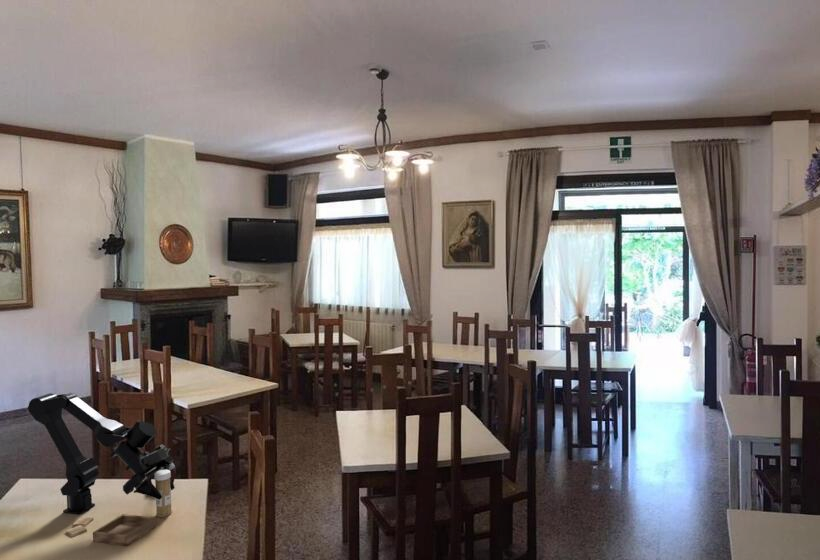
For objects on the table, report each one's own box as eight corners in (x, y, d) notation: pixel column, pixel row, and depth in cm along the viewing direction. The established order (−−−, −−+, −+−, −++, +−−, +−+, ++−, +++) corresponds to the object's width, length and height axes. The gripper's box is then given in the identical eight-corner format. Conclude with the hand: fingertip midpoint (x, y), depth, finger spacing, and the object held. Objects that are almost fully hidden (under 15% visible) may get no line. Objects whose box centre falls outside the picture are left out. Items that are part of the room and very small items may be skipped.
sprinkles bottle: (173, 514, 174) (171, 472, 173) (157, 518, 172) (155, 475, 171) (170, 509, 178) (168, 467, 177) (154, 513, 175) (153, 471, 175)
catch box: (93, 541, 159) (92, 532, 158) (123, 521, 170) (122, 513, 170) (127, 545, 156) (127, 537, 156) (156, 525, 167) (155, 517, 167)
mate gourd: (161, 481, 199) (159, 440, 199) (182, 482, 199) (180, 441, 198) (149, 490, 192) (148, 448, 191) (171, 491, 191) (170, 448, 190)
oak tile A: (72, 528, 167) (72, 524, 167) (80, 521, 171) (80, 517, 171) (85, 528, 167) (85, 524, 167) (93, 521, 171) (93, 517, 171)
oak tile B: (65, 534, 164) (65, 530, 163) (80, 529, 167) (80, 525, 167) (72, 538, 161) (72, 534, 161) (86, 532, 165) (86, 528, 164)
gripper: (130, 450, 165) (166, 489, 164) (167, 430, 183) (199, 465, 182) (107, 475, 167) (142, 513, 165) (146, 453, 185) (178, 487, 184)
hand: (167, 493), depth 174 cm, fingers open, 6 cm apart
